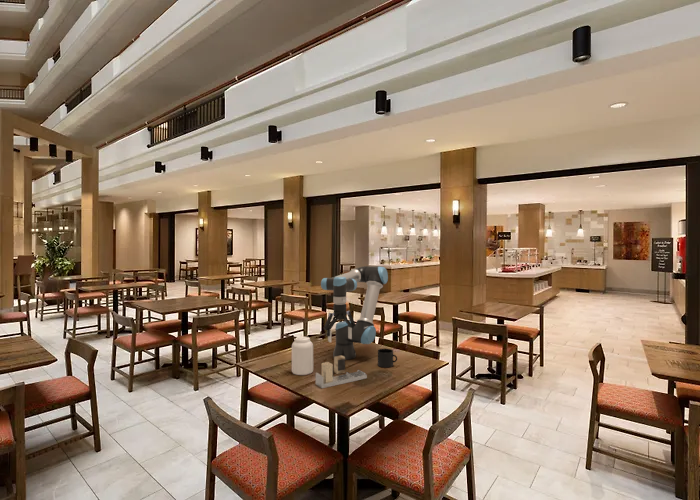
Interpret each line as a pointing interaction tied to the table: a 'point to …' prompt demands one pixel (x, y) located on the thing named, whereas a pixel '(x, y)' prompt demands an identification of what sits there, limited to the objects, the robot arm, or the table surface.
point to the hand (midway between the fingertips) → (340, 340)
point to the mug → (386, 358)
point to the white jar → (302, 356)
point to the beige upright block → (339, 364)
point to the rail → (329, 380)
